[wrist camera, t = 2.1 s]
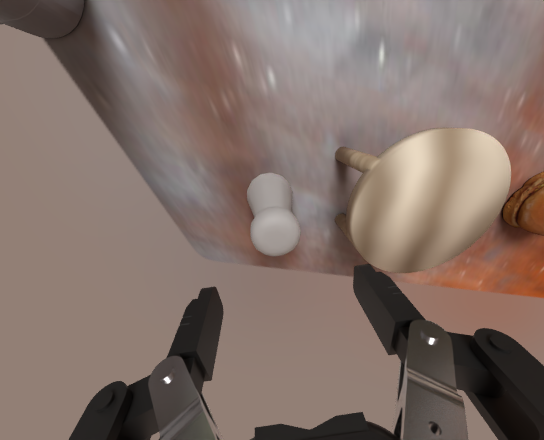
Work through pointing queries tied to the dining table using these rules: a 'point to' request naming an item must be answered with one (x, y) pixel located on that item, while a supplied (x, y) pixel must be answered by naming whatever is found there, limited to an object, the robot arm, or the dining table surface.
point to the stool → (424, 197)
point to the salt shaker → (272, 215)
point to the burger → (527, 206)
